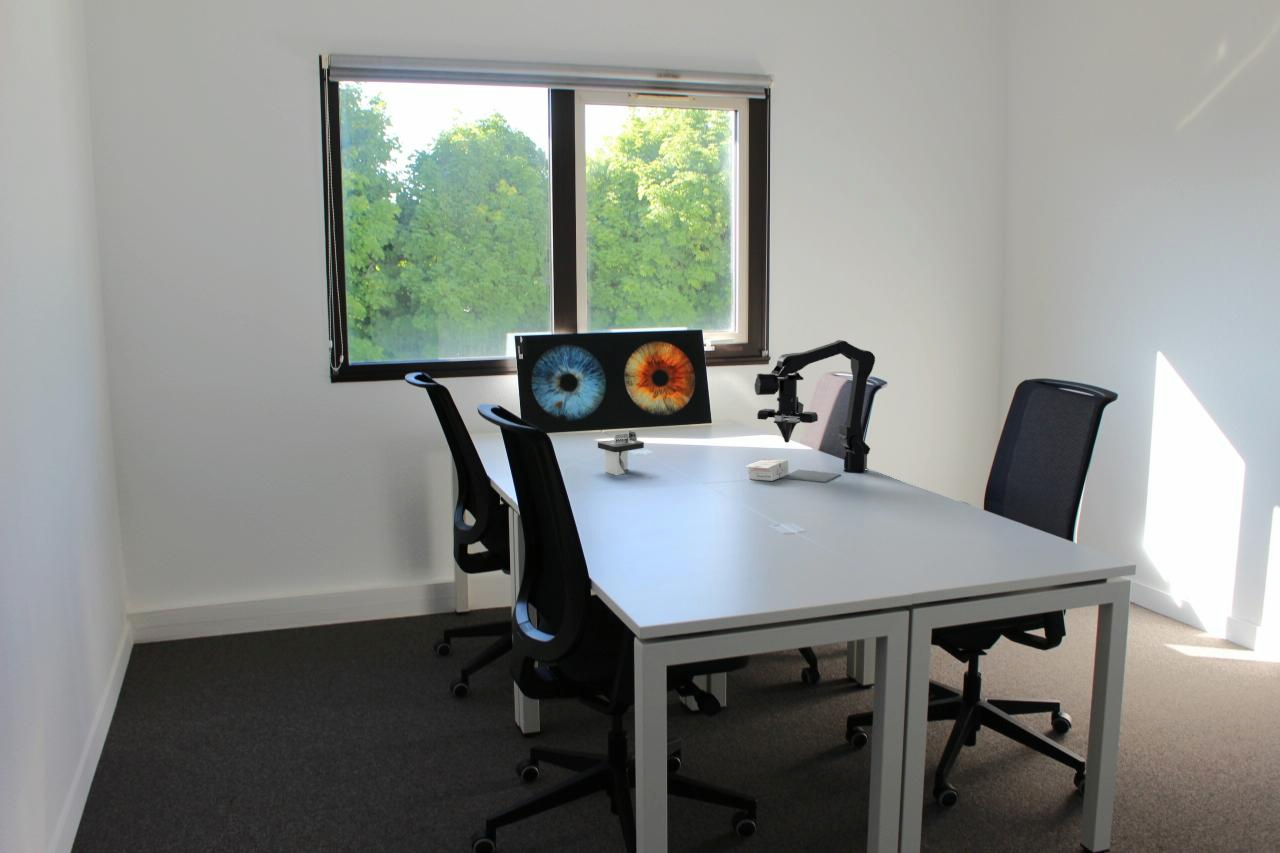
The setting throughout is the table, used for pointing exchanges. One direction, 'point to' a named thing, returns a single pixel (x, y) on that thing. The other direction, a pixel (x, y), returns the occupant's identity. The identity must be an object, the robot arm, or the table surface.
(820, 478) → the mat
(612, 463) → the black-topped pedestal
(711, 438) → the table surface
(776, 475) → the ink cartridge box
